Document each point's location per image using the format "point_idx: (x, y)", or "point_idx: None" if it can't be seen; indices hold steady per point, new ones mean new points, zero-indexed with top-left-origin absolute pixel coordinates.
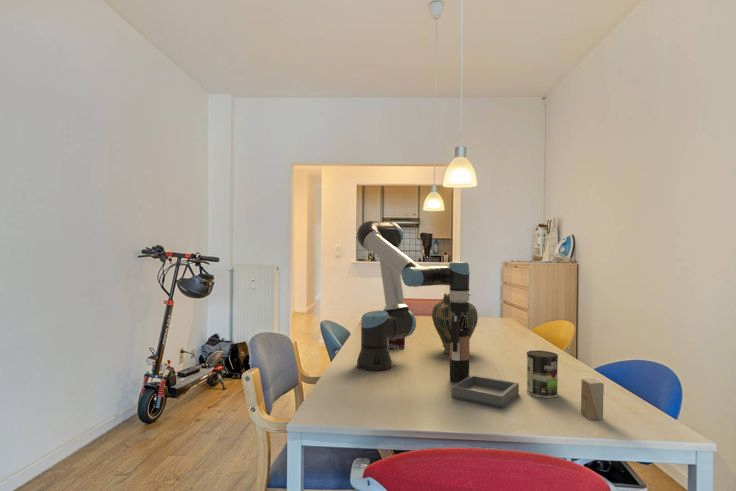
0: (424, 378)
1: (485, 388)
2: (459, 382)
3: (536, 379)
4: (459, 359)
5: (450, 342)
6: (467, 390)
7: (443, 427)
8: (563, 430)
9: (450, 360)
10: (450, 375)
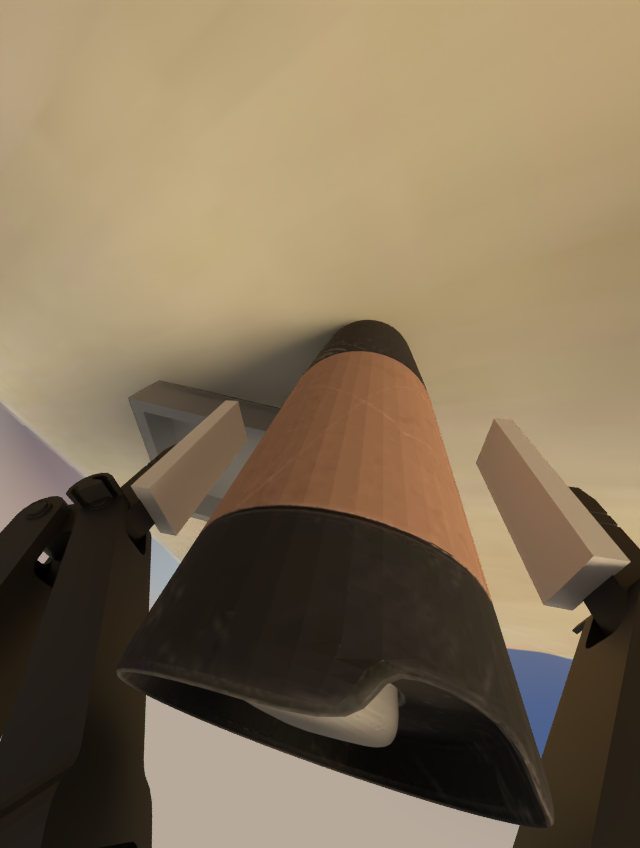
0: (317, 145)
1: None
2: (184, 414)
3: None
4: (243, 443)
5: (102, 480)
6: (147, 442)
7: (12, 400)
8: (176, 545)
9: (313, 363)
10: (338, 333)
